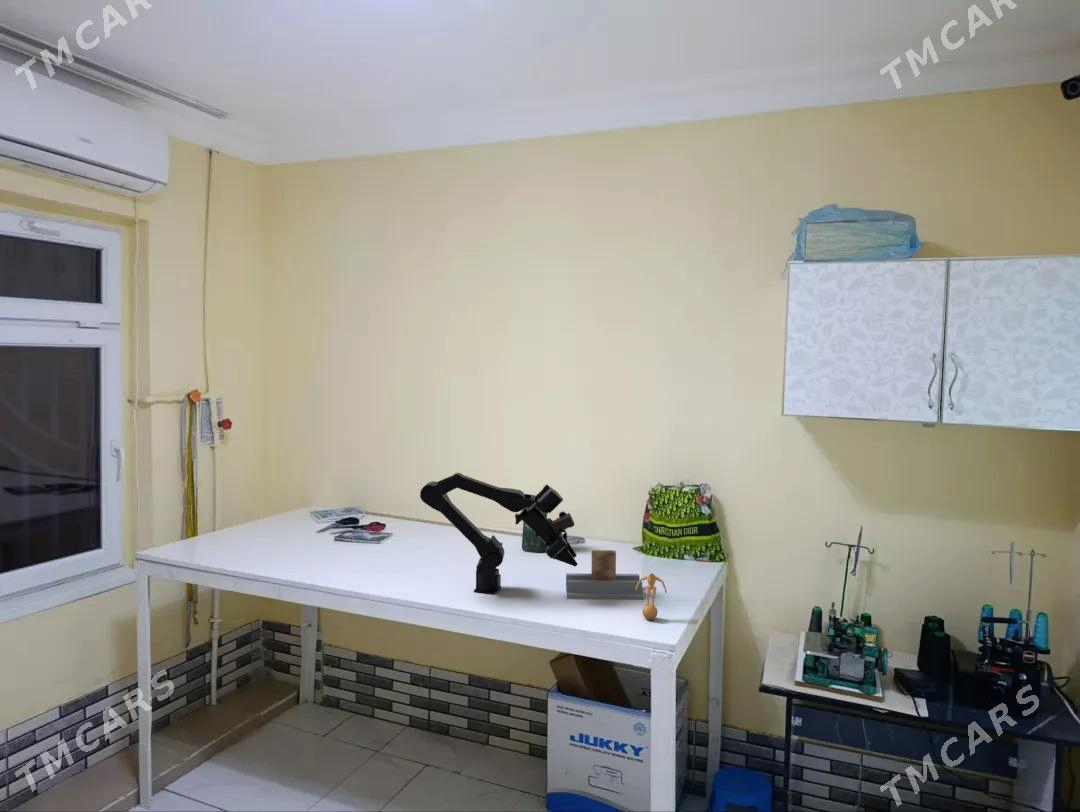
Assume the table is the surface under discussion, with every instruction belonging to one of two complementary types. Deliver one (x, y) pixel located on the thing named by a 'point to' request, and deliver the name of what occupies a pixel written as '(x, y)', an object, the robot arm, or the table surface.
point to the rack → (603, 587)
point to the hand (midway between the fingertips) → (576, 560)
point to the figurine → (650, 609)
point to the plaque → (603, 565)
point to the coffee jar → (532, 538)
